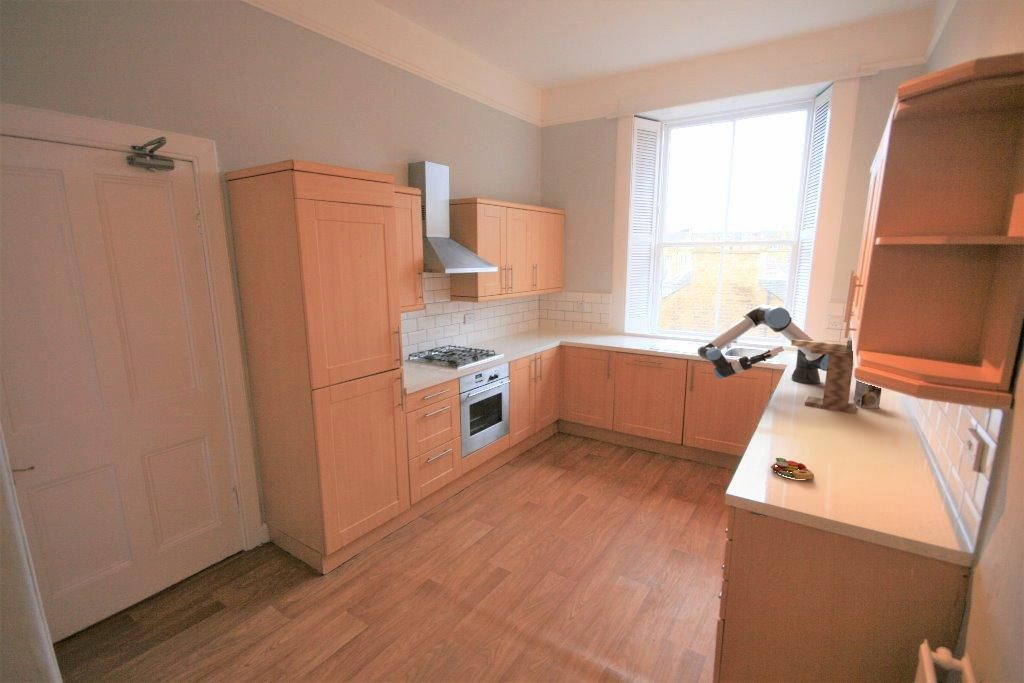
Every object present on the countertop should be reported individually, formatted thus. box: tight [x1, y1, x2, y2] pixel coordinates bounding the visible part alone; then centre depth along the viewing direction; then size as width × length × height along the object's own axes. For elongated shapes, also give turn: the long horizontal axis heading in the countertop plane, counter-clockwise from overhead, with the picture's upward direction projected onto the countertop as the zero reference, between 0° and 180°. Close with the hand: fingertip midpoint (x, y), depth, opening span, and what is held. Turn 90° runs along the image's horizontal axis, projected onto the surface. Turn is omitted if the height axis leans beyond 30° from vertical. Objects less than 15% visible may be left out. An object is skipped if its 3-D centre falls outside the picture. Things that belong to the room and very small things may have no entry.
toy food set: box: [770, 457, 815, 480], centre depth 166 cm, size 13×13×3 cm
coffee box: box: [853, 379, 882, 409], centre depth 237 cm, size 9×6×16 cm
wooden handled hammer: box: [790, 337, 853, 353], centre depth 236 cm, size 30×10×6 cm, turn 50°
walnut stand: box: [804, 348, 858, 414], centre depth 236 cm, size 21×12×30 cm, turn 49°
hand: (780, 350), depth 250 cm, fingers open, 13 cm apart
